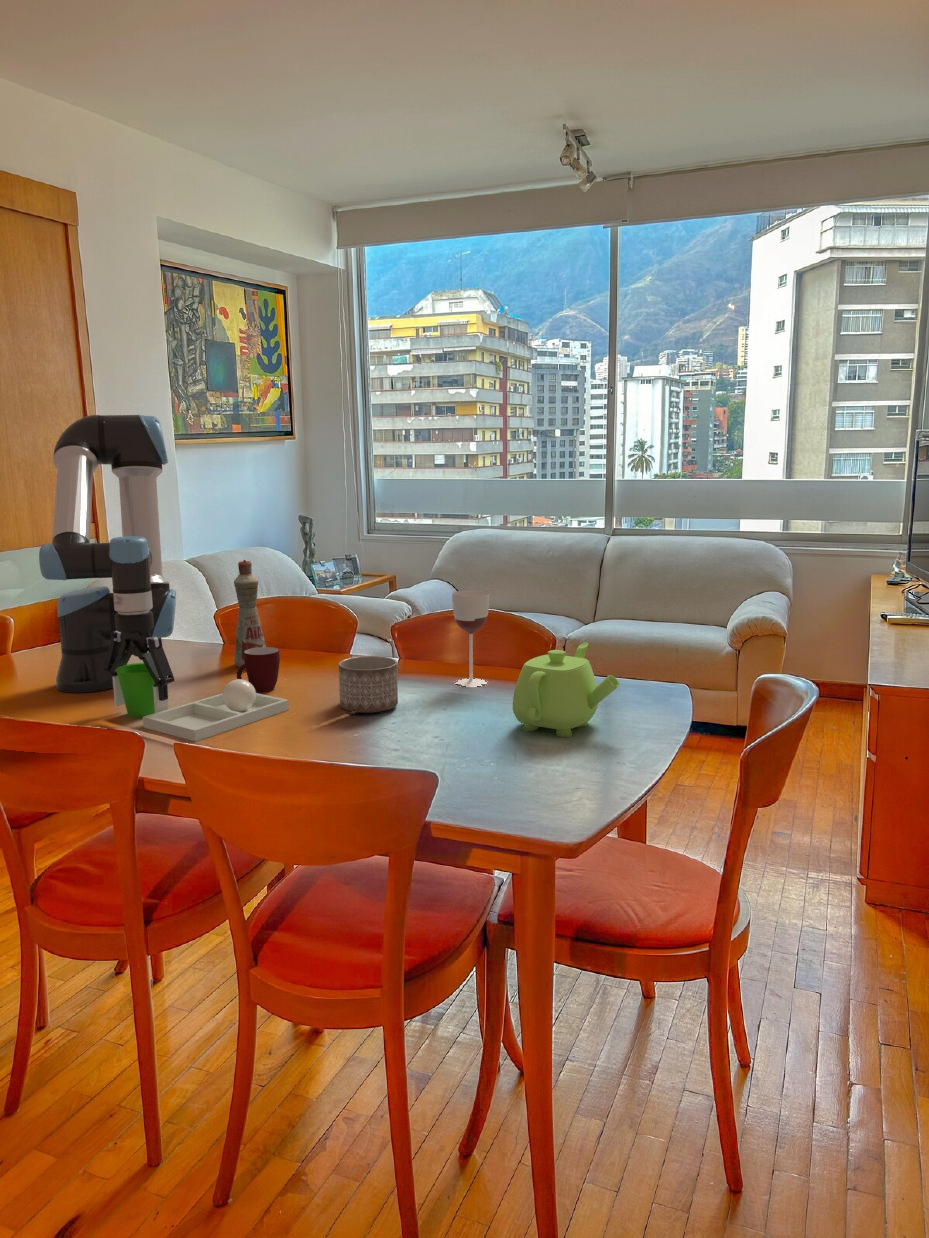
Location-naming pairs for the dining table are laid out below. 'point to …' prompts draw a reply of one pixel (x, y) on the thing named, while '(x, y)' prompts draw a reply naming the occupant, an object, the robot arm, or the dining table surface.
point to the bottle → (247, 613)
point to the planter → (368, 684)
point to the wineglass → (470, 622)
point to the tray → (211, 717)
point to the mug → (261, 667)
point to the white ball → (239, 695)
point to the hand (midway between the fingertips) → (141, 709)
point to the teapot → (559, 692)
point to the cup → (137, 689)
